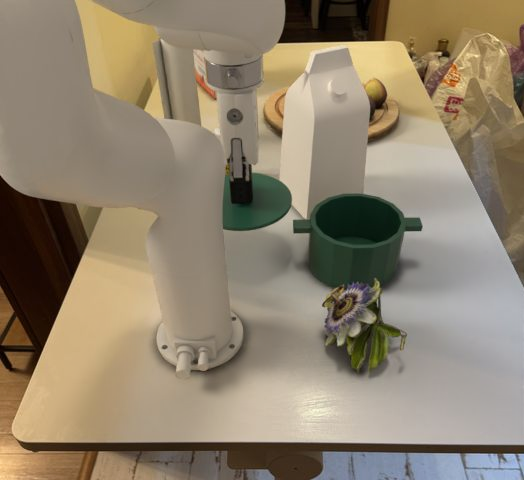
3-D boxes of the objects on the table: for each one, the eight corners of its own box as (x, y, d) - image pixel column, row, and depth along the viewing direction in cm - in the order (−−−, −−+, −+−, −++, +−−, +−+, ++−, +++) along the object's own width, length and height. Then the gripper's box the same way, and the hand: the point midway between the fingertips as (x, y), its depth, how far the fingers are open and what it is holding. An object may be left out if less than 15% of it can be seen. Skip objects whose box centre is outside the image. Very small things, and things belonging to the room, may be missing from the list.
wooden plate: (269, 87, 135) (269, 53, 129) (393, 89, 132) (398, 54, 126) (257, 147, 114) (255, 109, 108) (404, 150, 111) (411, 111, 105)
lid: (293, 233, 77) (294, 190, 71) (189, 235, 77) (182, 192, 72) (290, 177, 87) (290, 136, 82) (198, 179, 87) (192, 138, 82)
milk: (331, 175, 105) (343, 32, 86) (362, 203, 98) (383, 54, 79) (278, 190, 102) (278, 44, 83) (306, 220, 95) (314, 69, 76)
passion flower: (329, 360, 79) (318, 283, 77) (401, 350, 78) (392, 271, 75) (329, 382, 69) (316, 293, 66) (413, 371, 67) (403, 280, 64)
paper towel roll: (204, 136, 118) (193, 30, 102) (201, 149, 114) (189, 41, 98) (173, 136, 118) (156, 31, 102) (169, 149, 114) (151, 42, 98)
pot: (420, 290, 82) (432, 246, 75) (293, 292, 82) (295, 248, 76) (404, 235, 91) (413, 192, 85) (290, 237, 92) (291, 194, 85)
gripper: (263, 96, 62) (266, 226, 75) (263, 46, 72) (266, 167, 86) (200, 98, 62) (214, 227, 76) (209, 47, 73) (221, 168, 86)
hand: (242, 194), depth 81 cm, fingers closed on lid, 3 cm apart
